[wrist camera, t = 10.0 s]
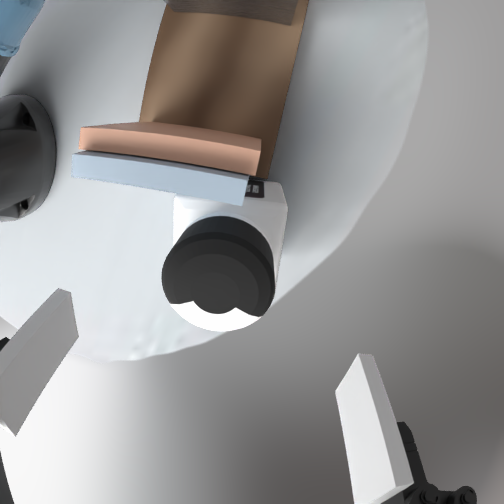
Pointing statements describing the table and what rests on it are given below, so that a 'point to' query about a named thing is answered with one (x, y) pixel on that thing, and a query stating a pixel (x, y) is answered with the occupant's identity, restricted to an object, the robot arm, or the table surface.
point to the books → (169, 159)
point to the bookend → (240, 8)
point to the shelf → (223, 74)
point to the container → (226, 257)
